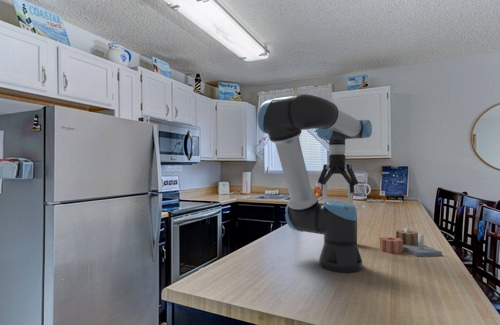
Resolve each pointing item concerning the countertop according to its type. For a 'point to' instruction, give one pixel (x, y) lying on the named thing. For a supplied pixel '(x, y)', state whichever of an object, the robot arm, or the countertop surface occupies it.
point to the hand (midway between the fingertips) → (337, 198)
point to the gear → (391, 244)
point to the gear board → (415, 244)
